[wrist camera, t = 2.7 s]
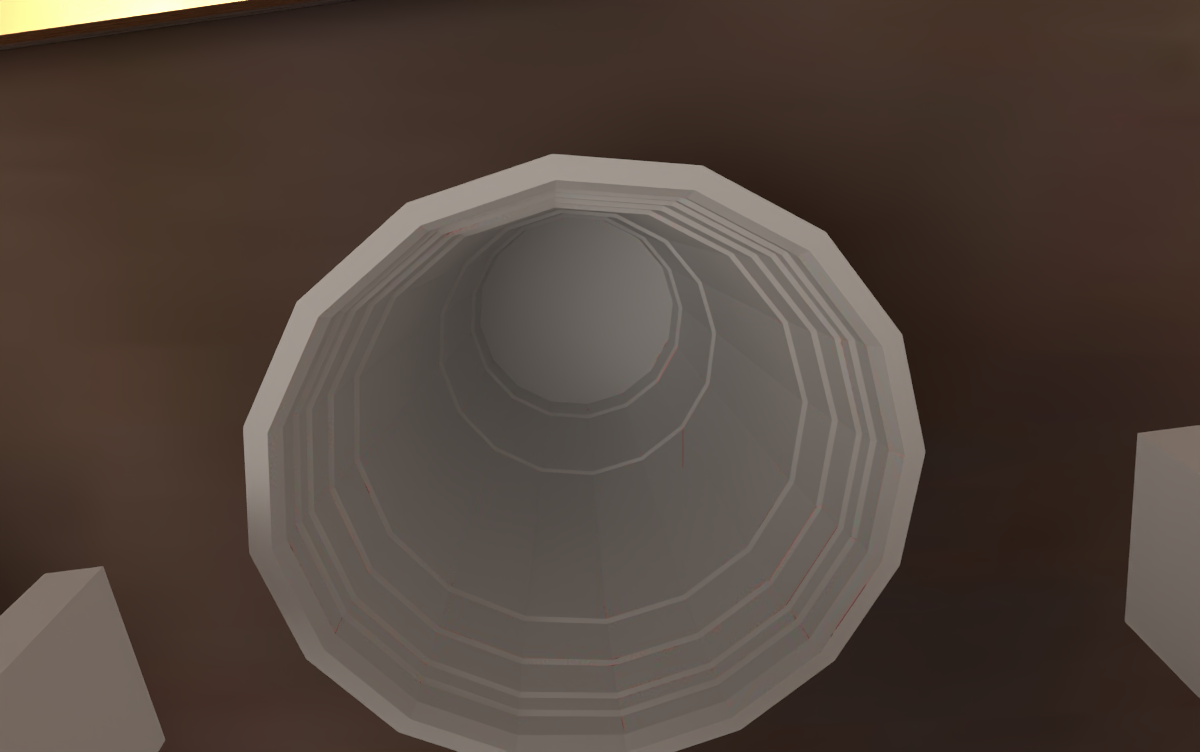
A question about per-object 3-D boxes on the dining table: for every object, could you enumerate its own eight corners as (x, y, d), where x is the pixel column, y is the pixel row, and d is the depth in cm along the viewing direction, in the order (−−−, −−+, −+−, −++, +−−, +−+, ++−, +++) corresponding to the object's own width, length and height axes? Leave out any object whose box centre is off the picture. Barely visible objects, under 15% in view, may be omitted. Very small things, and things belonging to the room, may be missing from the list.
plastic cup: (706, 526, 28) (802, 846, 16) (354, 439, 26) (190, 720, 15) (832, 178, 24) (1064, 274, 13) (438, 59, 23) (310, 50, 12)
